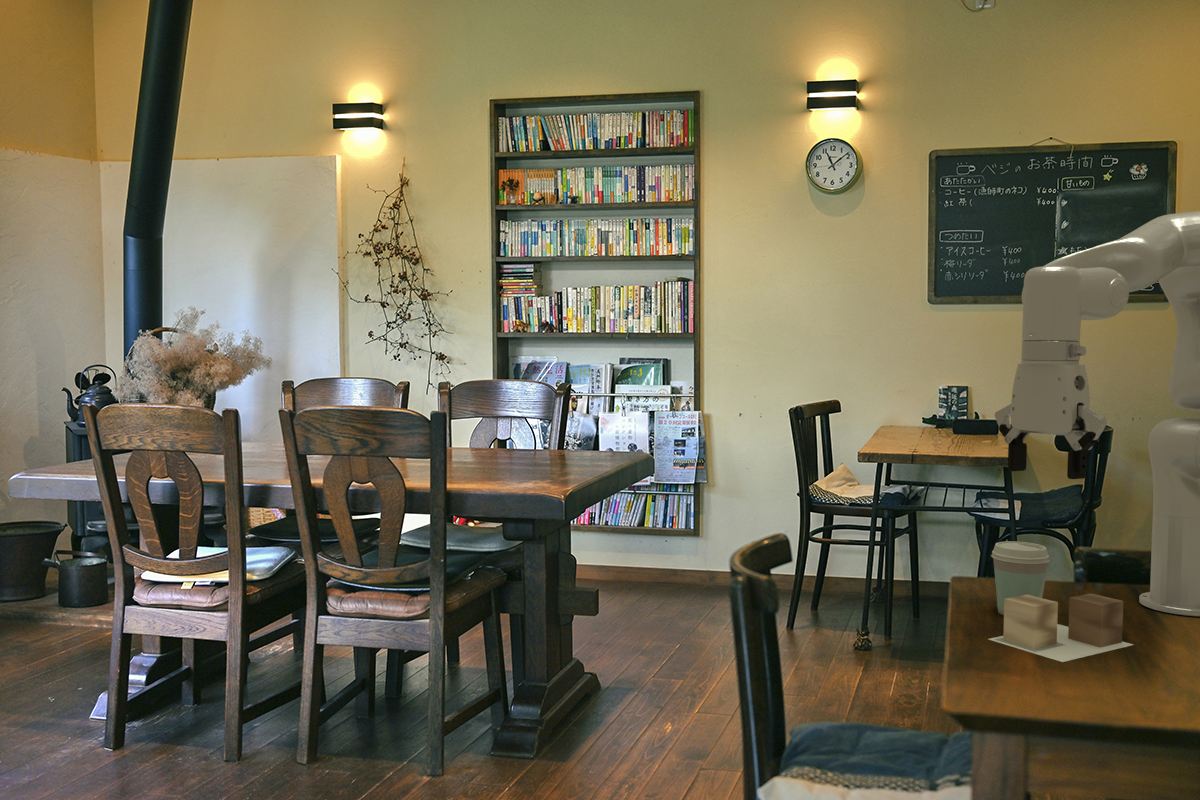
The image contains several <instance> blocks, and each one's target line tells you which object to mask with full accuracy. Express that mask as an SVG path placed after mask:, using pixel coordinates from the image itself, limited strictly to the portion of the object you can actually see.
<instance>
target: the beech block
mask: <svg viewBox="0 0 1200 800" xmlns="http://www.w3.org/2000/svg"><path fill="white" fill-rule="evenodd" d="M1058 608H1059V602H1058V601H1056V600H1050V599H1046V598H1043V597H1042V598H1039V597H1035V596H1031V595H1022V596H1017V597H1011V598H1006V599H1004V615H1003V635H1002V636H1003V640H1005V641H1008V642H1012V643H1015V644H1018V645H1021V646H1025V647H1028V648H1031V649H1037V648H1041V647H1046V646H1050V645H1055V644H1057V624H1058V616H1059V614H1058V613H1059V612H1058V611H1059V610H1058Z"/></svg>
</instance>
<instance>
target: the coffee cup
mask: <svg viewBox="0 0 1200 800" xmlns="http://www.w3.org/2000/svg"><path fill="white" fill-rule="evenodd" d="M990 557H991V558H992V559H993V560H992V561H993V568H994V569H993V571H994V581H995V592H996V602H997V604H996V605H997V611H998V614H1000V615H1002V616H1004V599H1006V598H1011V597H1017V596H1022V595H1031V596H1035V597H1039V598H1043V597H1044V596H1043V595H1044V590H1045V589H1044V588H1045V584H1046V583H1045V582H1046V577H1047V571H1048V564H1049V562H1050V561H1051V560H1050V555H1049V553H1048V550H1047V547H1046V546H1044V545H1042V544H1038V543H1033V542H1027V541H1015V540H1014V541H1011V540H1010V541H1009V540H1008V541H1007V540H1006V541H999V542H996V543H995V545H994V548H993V550H992V551H991V555H990Z"/></svg>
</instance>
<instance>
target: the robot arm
mask: <svg viewBox="0 0 1200 800" xmlns="http://www.w3.org/2000/svg"><path fill="white" fill-rule="evenodd" d="M1157 282H1158V283H1159V286H1160V288H1161V290H1162V291H1163V293H1164V295H1165V297H1166V299H1167V301H1168V302H1169V305H1170V307H1171V310H1172V311H1173V313H1174V314H1173V315H1174V317H1175V321H1176V337H1175V344H1174V350H1173V356H1172V357H1173V358H1172V362H1171V369H1170V375H1169V382H1168V395H1169V399H1170V402H1171V403H1172V404H1173V405H1174V406H1176V407H1177V408H1178V409H1182V410H1185V411H1186V410H1187V411H1193V412H1200V210H1198V211H1187V212H1179V213H1177V212H1176V213H1169V214H1164V215H1161V216H1157V217H1156V218H1153V219H1151V220H1150V221H1148V222H1146V223H1144V224H1143V225H1141V226H1139V227H1138V228H1136V229H1135V230H1132V231H1131V232H1129V233H1128V234H1125V235H1124V236H1122V237H1120V238H1118V239H1115V240H1112V241H1108V242H1105V243H1102V244H1098V245H1096V246H1093V247H1091V248H1087V249H1084V250H1081V251H1076V252H1073V253H1071V254H1067V255H1065V256H1062V257H1059V258H1057V259H1055V260H1052V261H1050V262H1049V263H1046V264H1044V265H1043V266H1036V267H1033V268H1030V269H1028V270H1027V271H1026V272H1025V276H1024V279H1023V288H1022V290H1021V303H1022V306H1023V307H1022V326H1021V327H1022V328H1021V329H1022V330H1021V331H1022V332H1021V333H1022V334H1021V358H1020V359H1021V361H1020V363H1017V367H1016V371H1015V375H1014V379H1013V383H1012V384H1013V386H1012V392H1011V404H1009V405H1007V406H1005V407H1002V408H1001V409H999V410H997V411H995V412H994V418H995V421H996V423H997V425H998V431H999V433H1000V434H1001V435H1002V436H1003V437H1004V438H1003V439H1004V442H1005V444H1008V448H1007V470H1008V472H1022V471H1026V469H1027V456H1028V455H1027V451H1028V445H1027V443H1024V441H1025V439H1026V438H1027V437H1028V436H1029V435H1030V433H1031V434H1040V435H1041V434H1043V435H1053V436H1064V437H1065V439H1066V441H1067V442H1068V444H1069V445H1070V447H1071V448H1072V449H1068V452H1067V470H1066V472H1067V473H1066V477H1067V478H1068V480H1081V479H1083V480H1084V479H1086V478H1087V471H1088V461H1089V460H1088V459H1089V458H1088V457H1089V455H1088V454H1089V451H1090V450H1092V449H1093V446H1094V445H1095V444H1096V443H1097V442H1098V441H1099V440H1100V439H1101V436H1102V435H1101V434H1102V433H1103V432H1104V430H1105V428H1106V426H1107V424H1108V421H1107V419H1105V418H1104V417H1103V416H1101V415H1100V414H1098V413H1097V412H1095V411H1094V410H1092V409H1091V400H1090V399H1091V397H1090V388H1089V387H1090V386H1089V379H1088V374H1087V369H1086V365H1085V364H1080V359H1081V356H1082V357H1085V356H1086V354H1087V347H1086V346H1083V345H1081V323H1082V322H1081V321H1098V320H1099V321H1100V320H1107V319H1110V318H1113V317H1115V316H1117V315H1118V314H1120V313H1121V312H1122V311H1123V310H1124V309H1125V307H1126V306H1127V304H1128V301H1129V297H1130V293H1133V292H1137V291H1141V290H1144V289H1146V288H1149V287H1150V286H1152V285H1154V284H1155V283H1157ZM1147 442H1148V455H1149V459H1150V466H1151V472H1152V473H1151V474H1152V487H1153V488H1152V489H1153V494H1152V496H1153V497H1152V498H1153V499H1152V500H1153V501H1152V523H1151V525H1152V526H1151V527H1152V528H1151V529H1152V530H1151V552H1150V553H1151V554H1150V555H1151V557H1150V559H1151V560H1150V579H1149V580H1150V582H1149V583H1150V584H1149V586H1150V588H1149V591H1148V592H1147V591H1146V592H1143V593H1140V594H1139V597H1138V598H1139V601H1138V602H1139V604H1141V605H1142V606H1144V607H1146V608H1149V609H1152V610H1154V611H1158V612H1162V613H1167V614H1174V615H1181V616H1188V617H1190V616H1191V617H1200V418H1195V417H1174V418H1169V419H1163V420H1161V421H1160V422H1158V423H1157V424H1155V426H1154V427H1153V428H1152V429H1151V431H1150V433H1149V436H1148V441H1147Z"/></svg>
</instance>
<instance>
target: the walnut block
mask: <svg viewBox="0 0 1200 800" xmlns="http://www.w3.org/2000/svg"><path fill="white" fill-rule="evenodd" d="M1068 599H1069V600H1068V601H1069V602H1068V605H1069V606H1068V627H1069V628H1068V639H1072V640H1075V641H1079V642H1082V643H1086V644H1089V645H1093V646H1096V647H1100V648H1101V647H1105V646H1109V645H1113V644H1118V643H1122V642H1123V627H1124V626H1123V624H1124V623H1123V621H1124V601H1123V600H1121V599H1116V598H1112V597H1109V596H1103V595H1100V594H1095V593H1086V594H1081V595H1076V596H1071V597H1069V598H1068Z"/></svg>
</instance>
